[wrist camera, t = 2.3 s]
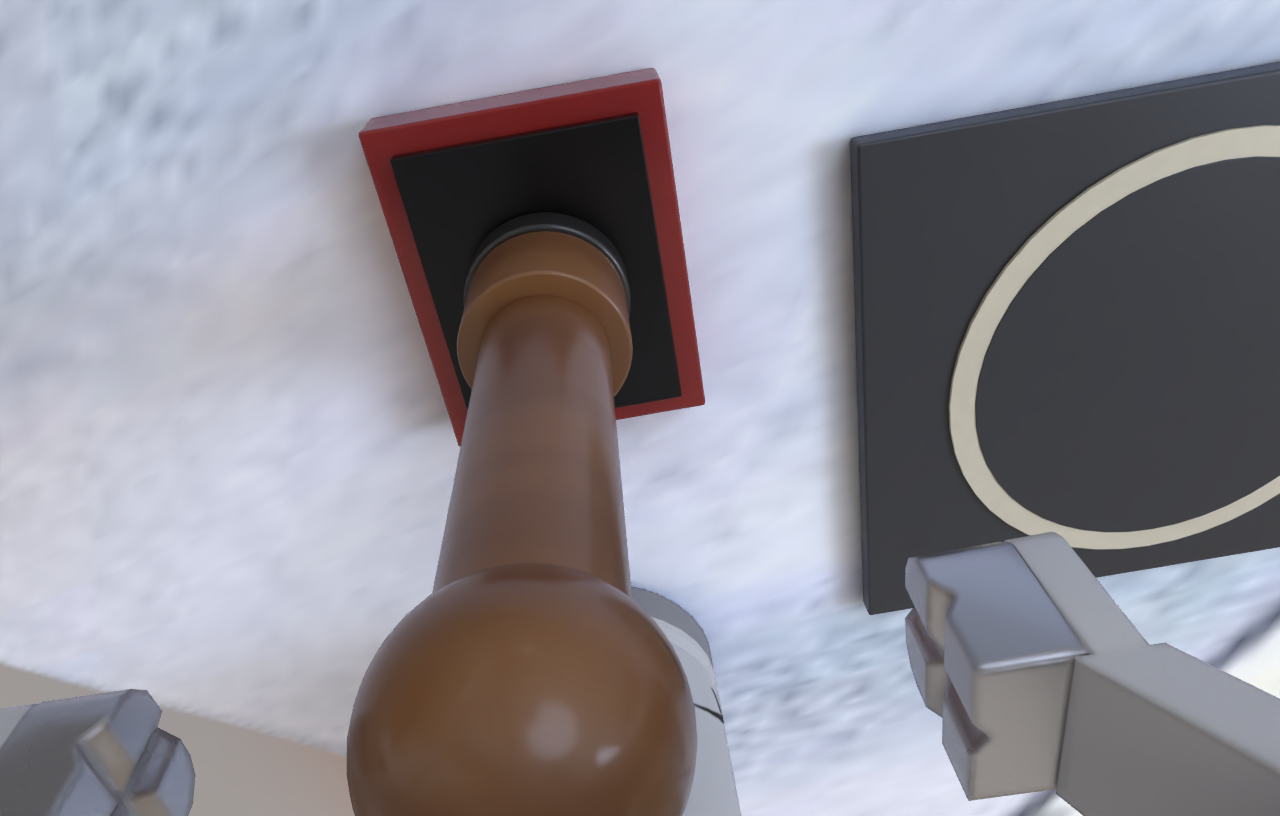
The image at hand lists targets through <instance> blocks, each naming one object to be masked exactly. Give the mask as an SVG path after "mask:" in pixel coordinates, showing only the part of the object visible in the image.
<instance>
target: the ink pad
mask: <svg viewBox="0 0 1280 816" xmlns="http://www.w3.org/2000/svg"><path fill="white" fill-rule="evenodd" d="M359 138H360V141H361V145H362V148H363V151H364V154H365V157H366V160H367V163H368V166H369V169H370V172H371V176H372V179H373V182H374V185H375V188H376V191H377V194H378V197H379V200H380V203H381V207H382V210H383V213H384V216H385V219H386V222H387V225H388V228H389V231H390V234H391V237H392V241H393V244H394V247H395V250H396V253H397V256H398V259H399V262H400V265H401V268H402V272H403V275H404V278H405V281H406V284H407V287H408V290H409V293H410V296H411V299H412V303H413V306H414V309H415V312H416V315H417V318H418V321H419V324H420V327H421V330H422V334H423V337H424V340H425V343H426V346H427V349H428V352H429V355H430V358H431V361H432V364H433V368H434V371H435V374H436V377H437V380H438V383H439V386H440V389H441V392H442V395H443V399H444V402H445V405H446V408H447V411H448V414H449V417H450V420H451V423H452V426H453V430H454V433H455V436H456V439H457V442H458V445H459V446H461V443H462V438H463V432H464V427H465V422H466V417H467V412H468V407H469V401H470V396H471V391H472V389H471V388H470V387H469V385H468V383H467V382H466V380H465V378H464V376H463V374H462V371H461V368H460V365H459V361H458V355H457V337H458V332H459V327H460V323H461V319H462V315H463V311H464V301H463V294H464V285H465V281H466V277H467V273H468V269H469V265H470V263H471V260H472V258H473V255H474V254H475V252H476V250H477V248H478V247H479V245H480V244H481V243H482V241H483V240H484V239H485V238H486V237H487V236H488V235H489V234H490V233H491V232H492V231H493V230H495V229H496V228H497V227H499V226H500V225H502V224H504V223H505V222H507V221H509V220H511V219H514V218H516V217H519V216H522V215H527V214H531V213H540V212H553V213H560V214H566V215H569V216H573V217H576V218H578V219H581V220H583V221H585V222H587V223H589V224H591V225H592V226H594V227H595V228H597V229H598V230H599V231H601V232H602V233H603V234H604V235H605V236H606V237H607V238H608V239H609V240H610V241H611V242H612V243H613V245H614V246H615V247H616V249H617V250H618V252H619V254H620V255H621V257H622V259H623V262H624V264H625V267H626V270H627V274H628V279H629V286H630V293H631V310H630V316H629V323H630V330H631V337H632V346H633V350H632V361H631V366H630V370H629V372H628V375H627V378H626V380H625V382H624V384H623V386H622V387H621V388H620V390H619V391H618V393H617V394H616V395H615V396H614V404H615V415H616V420H618V419H624V418H630V417H636V416H642V415H648V414H653V413H659V412H665V411H671V410H677V409H682V408H688V407H694V406H700V405H704V404H705V397H704V390H703V383H702V375H701V368H700V361H699V353H698V346H697V339H696V332H695V324H694V317H693V310H692V303H691V295H690V288H689V281H688V273H687V266H686V259H685V252H684V244H683V237H682V230H681V223H680V215H679V208H678V201H677V194H676V186H675V179H674V172H673V164H672V157H671V150H670V143H669V135H668V128H667V121H666V114H665V106H664V99H663V92H662V84H661V80H660V78H659V76H658V74H657V72H656V70H655V69H654V68H649V69H643V70H638V71H632V72H627V73H621V74H616V75H610V76H605V77H599V78H593V79H588V80H582V81H577V82H571V83H566V84H560V85H555V86H549V87H544V88H538V89H532V90H527V91H521V92H516V93H510V94H505V95H499V96H494V97H488V98H482V99H477V100H471V101H466V102H460V103H455V104H449V105H444V106H438V107H433V108H427V109H421V110H416V111H410V112H405V113H399V114H394V115H388V116H383V117H377V118H372V119H371V120H370V121H369V122H368V123H367V124H366V125H365V127H364V128H363V129H362V130H361V131H360V132H359Z"/></svg>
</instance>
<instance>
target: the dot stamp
mask: <svg viewBox="0 0 1280 816" xmlns="http://www.w3.org/2000/svg"><path fill="white" fill-rule="evenodd" d="M463 301H464V311H463V315H462V319H461V323H460V327H459V332H458V337H457V355H458V361H459V365H460V368H461V371H462V374H463V376H464V378H465V380H466V382H467V383H468V385H469V387H470V388H471V389H472V391H471V396H470V401H469V407H468V412H467V417H466V422H465V427H464V432H463V438H462V443H461V448H460V453H459V458H458V463H457V469H456V474H455V479H454V484H453V489H452V494H451V500H450V505H449V510H448V515H447V520H446V525H445V531H444V536H443V541H442V546H441V551H440V556H439V562H438V567H437V572H436V577H435V582H434V588H433V593H432V594H431V595H430V596H428V597H427V598H426V599H425V600H424V601H422V602H421V603H420V604H419V605H418V606H416V607H415V608H414V609H413V610H412V611H411V612H409V613H408V614H407V615H406V616H405V617H404V618H403V619H402V620H401V621H400V622H399V624H398V625H397V626H396V627H395V628H394V629H393V631H392V632H391V633H390V634H389V636H388V637H387V638H386V639H385V641H384V642H383V644H382V645H381V647H380V648H379V650H378V651H377V653H376V654H375V656H374V658H373V660H372V662H371V663H370V665H369V667H368V669H367V671H366V673H365V675H364V678H363V680H362V683H361V685H360V688H359V691H358V693H357V696H356V699H355V702H354V705H353V710H352V715H351V720H350V726H349V731H348V737H347V779H348V786H349V792H350V798H351V803H352V807H353V811H354V814H355V816H683V813H684V811H685V809H686V805H687V802H688V799H689V796H690V792H691V788H692V784H693V779H694V774H695V766H696V755H697V743H698V742H697V728H696V716H695V707H694V703H693V698H692V694H691V690H690V687H689V683H688V680H687V676H686V674H685V672H684V669H683V667H682V664H681V662H680V660H679V658H678V656H677V654H676V652H675V650H674V648H673V646H672V645H671V643H670V642H669V640H668V639H667V637H666V635H665V634H664V633H663V631H662V630H661V629H660V627H659V626H658V624H657V623H656V622H655V621H654V620H653V619H652V618H651V617H650V616H649V615H648V614H647V613H646V612H645V611H644V610H643V609H642V608H641V607H640V606H639V605H638V604H637V603H636V602H635V601H634V600H633V599H632V594H631V583H630V572H629V560H628V549H627V538H626V527H625V516H624V505H623V494H622V482H621V471H620V460H619V449H618V438H617V427H616V415H615V404H614V396H615V395H616V394H617V393H618V391H619V390H620V388H621V387H622V386H623V384H624V382H625V380H626V378H627V375H628V372H629V370H630V366H631V361H632V350H633V346H632V337H631V330H630V323H629V316H630V310H631V293H630V286H629V279H628V274H627V270H626V267H625V264H624V262H623V259H622V257H621V255H620V254H619V252H618V250H617V249H616V247H615V246H614V245H613V243H612V242H611V241H610V240H609V239H608V238H607V237H606V236H605V235H604V234H603V233H602V232H601V231H599V230H598V229H597V228H595V227H594V226H592V225H591V224H589V223H587V222H585V221H583V220H581V219H578V218H576V217H573V216H569V215H566V214H560V213H553V212H540V213H531V214H527V215H522V216H519V217H516V218H514V219H511V220H509V221H507V222H505V223H504V224H502V225H500V226H499V227H497V228H496V229H495V230H493V231H492V232H491V233H490V234H489V235H488V236H487V237H486V238H485V239H484V240H483V241H482V243H481V244H480V245H479V247H478V248H477V250H476V252H475V254H474V255H473V258H472V260H471V263H470V265H469V269H468V273H467V277H466V281H465V285H464V294H463Z"/></svg>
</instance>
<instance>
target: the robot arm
mask: <svg viewBox="0 0 1280 816" xmlns="http://www.w3.org/2000/svg"><path fill="white" fill-rule="evenodd" d="M905 587H906V589H907V591H908V594H909V596H910V598H911V600H912V602H913V604H914V606H915V607H914V608H913V609H912V610H911V612H910V613H909V614H908V615H907V617H906V618H905V625H906V644H907V649H908V654H909V660H910V665H911V669H912V672H913V675H914V678H915V681H916V684H917V687H918V689H919V692H920V694H921V696H922V699H923V701H924V703H925V706H926V707H927V708H928V709H930V710H931V711H933V712H934V713H936V714H937V715H939V716H940V717H942V718H943V727H942V744H943V746H944V748H945V750H946V753H947V755H948V757H949V759H950V761H951V764H952V766H953V768H954V770H955V772H956V775H957V777H958V779H959V781H960V783H961V786H962V788H963V790H964V792H965V794H966V797H967V799H968V801H970V800H978V799H985V798H993V797H1000V796H1008V795H1015V794H1023V793H1030V792H1037V791H1045V790H1052V789H1056V794H1057V795H1058V796H1060V797H1061V798H1062V799H1063V800H1065V801H1066V802H1067V803H1068V804H1070V805H1071V806H1072V807H1073V808H1075V809H1076V810H1077V811H1078V812H1080V813H1081V814H1082V815H1083V816H1280V699H1279V698H1277V697H1275V696H1273V695H1271V694H1269V693H1267V692H1265V691H1263V690H1261V689H1259V688H1257V687H1254V686H1252V685H1250V684H1248V683H1246V682H1244V681H1242V680H1240V679H1238V678H1236V677H1234V676H1232V675H1230V674H1228V673H1226V672H1224V671H1222V670H1220V669H1218V668H1216V667H1214V666H1212V665H1209V664H1207V663H1205V662H1203V661H1201V660H1199V659H1197V658H1195V657H1193V656H1191V655H1189V654H1187V653H1185V652H1183V651H1181V650H1179V649H1177V648H1175V647H1173V646H1171V645H1169V644H1167V643H1160V644H1153V645H1149V644H1148V643H1147V641H1146V640H1145V639H1144V638H1143V636H1142V635H1141V634H1140V633H1139V631H1138V630H1137V629H1136V628H1135V626H1134V625H1133V624H1132V623H1131V621H1130V620H1129V619H1128V618H1127V616H1126V615H1125V614H1124V613H1123V611H1122V610H1121V609H1120V608H1119V606H1118V605H1117V604H1116V603H1115V601H1114V600H1113V599H1112V598H1111V596H1110V595H1109V594H1108V593H1107V591H1106V590H1105V589H1104V588H1103V586H1102V585H1101V584H1100V583H1099V581H1098V580H1097V579H1096V578H1095V576H1094V575H1093V574H1092V573H1091V571H1090V570H1089V569H1088V568H1087V566H1086V565H1085V564H1084V563H1083V561H1082V560H1081V559H1080V558H1079V556H1078V555H1077V554H1076V553H1075V551H1074V550H1073V549H1072V547H1071V546H1070V545H1069V544H1068V542H1067V541H1066V540H1065V539H1064V537H1063V536H1061V535H1059V534H1057V533H1055V532H1047V533H1042V534H1036V535H1031V536H1026V537H1020V538H1015V539H1009V540H1005V541H1004V542H995V543H990V544H984V545H978V546H973V547H967V548H961V549H956V550H950V551H944V552H939V553H933V554H927V555H922V556H916V557H911V558H908V561H907V565H906V568H905ZM161 714H162V710H161V709H160V708H159V706H158V705H157V703H156V702H155V701H154V699H153V698H152V697H151V695H150V694H149V693H148V691H147V690H136V689H128V690H121V691H114V692H107V693H101V694H94V695H87V696H80V697H73V698H66V699H59V700H52V701H45V702H42V703H39V704H33V705H24V706H17V707H10V708H3V709H0V816H188V814H189V812H190V809H191V807H192V804H193V795H194V783H195V772H194V768H193V764H192V761H191V757H190V754H189V752H188V751H187V749H186V747H185V746H184V744H183V743H182V741H181V739H179V738H177V737H175V736H173V735H171V734H169V733H167V732H165V731H163V730H161V729H160V728H158V723H159V720H160V717H161Z"/></svg>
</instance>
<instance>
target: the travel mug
mask: <svg viewBox="0 0 1280 816" xmlns="http://www.w3.org/2000/svg"><path fill="white" fill-rule="evenodd" d="M631 594H632V599H633V600H634V601H635V602H636V603H637V604H638V605H639V606H640V607H641V608H642V609H643V610H644V611H645V612H646V613H647V614H648V615H649V616H650V617H651V618H652V619H653V620H654V621H655V622H656V623H657V624H658V626H659V627H660V629H661V630H662V631H663V633H664V634H665V635H666V637H667V639H668V640H669V642H670V643H671V645H672V646H673V648H674V650H675V652H676V654H677V656H678V658H679V660H680V662H681V664H682V667H683V669H684V672H685V674H686V676H687V680H688V683H689V687H690V690H691V694H692V698H693V703H694V707H695V716H696V728H697V742H698V743H697V755H696V766H695V774H694V779H693V784H692V788H691V792H690V796H689V799H688V802H687V805H686V809H685V811H684V813H683V816H741V812H740V807H739V801H738V796H737V791H736V785H735V780H734V775H733V769H732V764H731V759H730V753H729V748H728V743H727V737H726V732H725V727H724V721H723V716H722V711H721V705H720V700H719V695H718V690H717V686H716V679H715V673H714V668H713V663H712V657H711V652H710V647H709V643H708V640H707V638H706V636H705V634H704V632H703V629H702V628H701V627H700V626H699V624H698V623H697V622H696V621H695V619H694V618H693V617H692V616H691V615H690V614H689V613H687V612H686V611H685V610H684V609H682V608H681V607H680V606H679V605H677V604H676V603H674V602H672V601H670V600H669V599H667V598H665V597H663V596H661V595H659V594H656V593H653V592H650V591H647V590H643V589H640V588H636V587H631Z"/></svg>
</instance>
